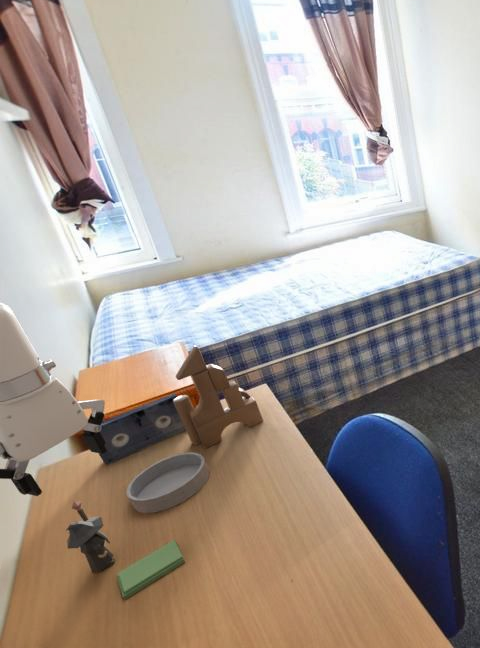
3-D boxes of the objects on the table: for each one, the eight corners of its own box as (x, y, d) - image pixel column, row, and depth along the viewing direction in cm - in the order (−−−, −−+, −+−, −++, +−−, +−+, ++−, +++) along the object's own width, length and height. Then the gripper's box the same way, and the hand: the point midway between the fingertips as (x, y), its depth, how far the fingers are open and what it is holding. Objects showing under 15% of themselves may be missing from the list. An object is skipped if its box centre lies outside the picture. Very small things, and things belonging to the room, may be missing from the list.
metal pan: (141, 524, 93) (133, 511, 92) (127, 491, 103) (120, 479, 101) (218, 482, 102) (212, 470, 101) (199, 455, 112) (194, 444, 110)
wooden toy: (254, 411, 127) (223, 329, 117) (263, 420, 123) (231, 336, 113) (190, 441, 117) (150, 354, 107) (197, 452, 113) (156, 363, 103)
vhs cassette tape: (189, 423, 125) (175, 392, 121) (191, 428, 123) (177, 396, 119) (103, 460, 114) (85, 427, 110) (104, 465, 112) (85, 432, 108)
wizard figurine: (130, 557, 86) (101, 509, 81) (94, 584, 82) (62, 534, 77) (108, 543, 90) (79, 496, 85) (73, 567, 85) (40, 519, 81)
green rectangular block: (124, 599, 78) (121, 594, 78) (118, 579, 82) (115, 573, 82) (185, 562, 84) (182, 557, 83) (176, 544, 88) (174, 539, 87)
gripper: (63, 354, 79) (107, 435, 86) (-79, 416, 64) (-12, 508, 71) (93, 356, 77) (136, 440, 83) (-47, 421, 62) (20, 516, 68)
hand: (68, 471), depth 77 cm, fingers open, 9 cm apart
